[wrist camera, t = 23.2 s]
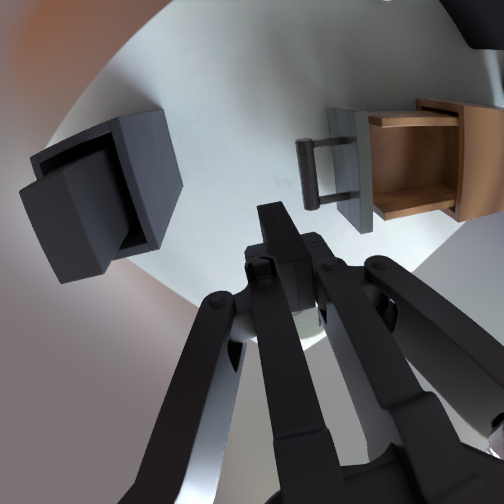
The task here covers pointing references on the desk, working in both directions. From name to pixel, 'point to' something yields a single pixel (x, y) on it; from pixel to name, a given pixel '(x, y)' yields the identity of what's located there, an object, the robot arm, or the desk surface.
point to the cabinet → (476, 157)
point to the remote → (81, 213)
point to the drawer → (385, 164)
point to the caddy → (130, 171)
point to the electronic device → (478, 22)
